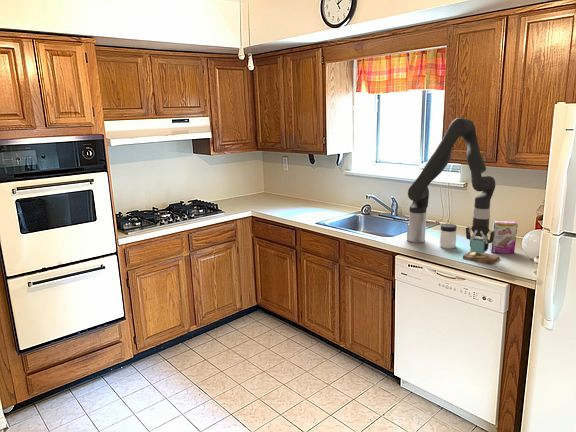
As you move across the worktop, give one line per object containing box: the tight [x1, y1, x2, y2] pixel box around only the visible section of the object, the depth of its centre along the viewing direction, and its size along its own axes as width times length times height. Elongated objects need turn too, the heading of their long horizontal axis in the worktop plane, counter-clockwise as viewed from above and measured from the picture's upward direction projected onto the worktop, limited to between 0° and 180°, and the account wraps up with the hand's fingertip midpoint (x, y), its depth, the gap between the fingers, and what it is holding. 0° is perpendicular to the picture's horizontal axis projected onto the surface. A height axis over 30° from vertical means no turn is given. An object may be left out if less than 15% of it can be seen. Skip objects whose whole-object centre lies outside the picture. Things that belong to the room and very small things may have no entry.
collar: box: [469, 236, 488, 254], centre depth 220 cm, size 6×6×6 cm
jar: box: [439, 223, 458, 250], centre depth 240 cm, size 9×8×12 cm
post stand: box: [462, 237, 501, 265], centre depth 219 cm, size 14×11×10 cm
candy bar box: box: [489, 220, 519, 255], centre depth 227 cm, size 11×5×16 cm, turn 75°
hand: (478, 248), depth 220 cm, fingers closed on collar, 6 cm apart
